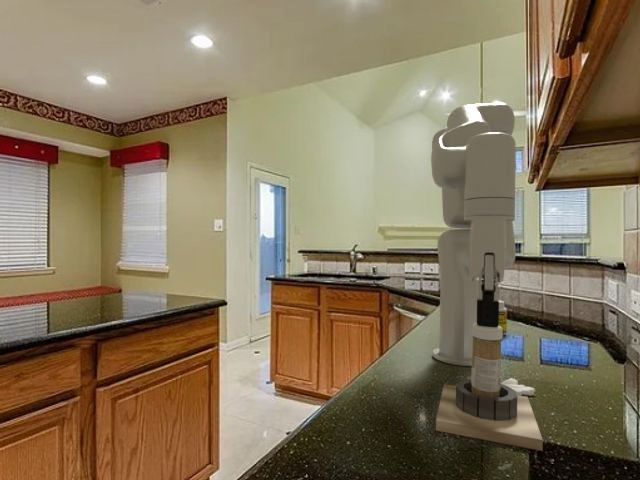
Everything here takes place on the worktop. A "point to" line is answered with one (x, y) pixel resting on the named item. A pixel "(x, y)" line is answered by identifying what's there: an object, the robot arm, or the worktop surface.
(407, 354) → the worktop surface
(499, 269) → the robot arm
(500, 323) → the supplement bottle
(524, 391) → the acanthus leaf ornament
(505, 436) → the socket board
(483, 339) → the sprinkles bottle
